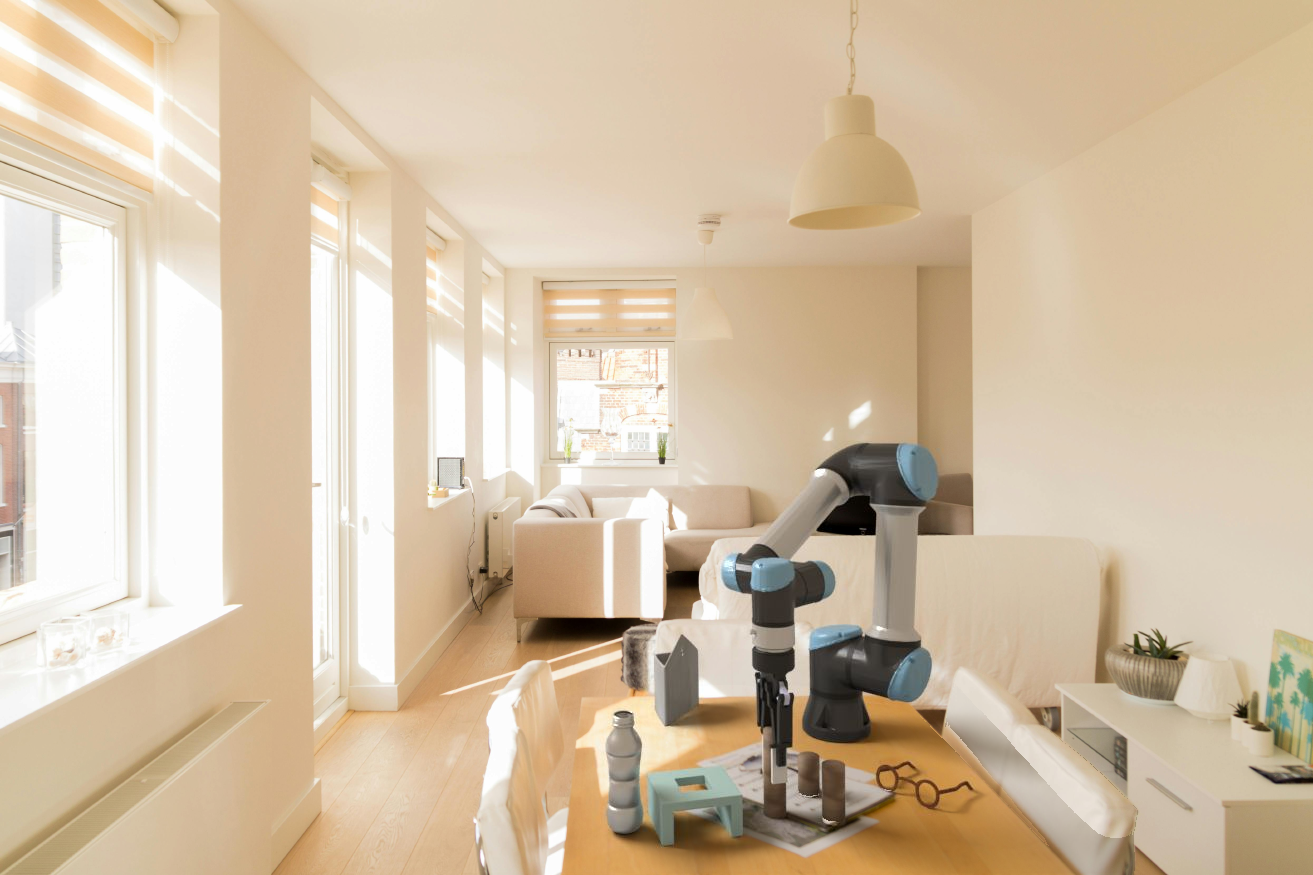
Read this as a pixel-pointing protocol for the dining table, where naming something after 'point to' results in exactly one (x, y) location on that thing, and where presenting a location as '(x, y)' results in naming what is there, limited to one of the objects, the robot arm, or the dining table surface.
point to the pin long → (772, 792)
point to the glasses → (917, 785)
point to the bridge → (693, 798)
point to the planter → (676, 681)
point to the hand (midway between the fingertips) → (774, 776)
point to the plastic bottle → (624, 775)
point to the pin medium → (833, 791)
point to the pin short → (808, 773)
